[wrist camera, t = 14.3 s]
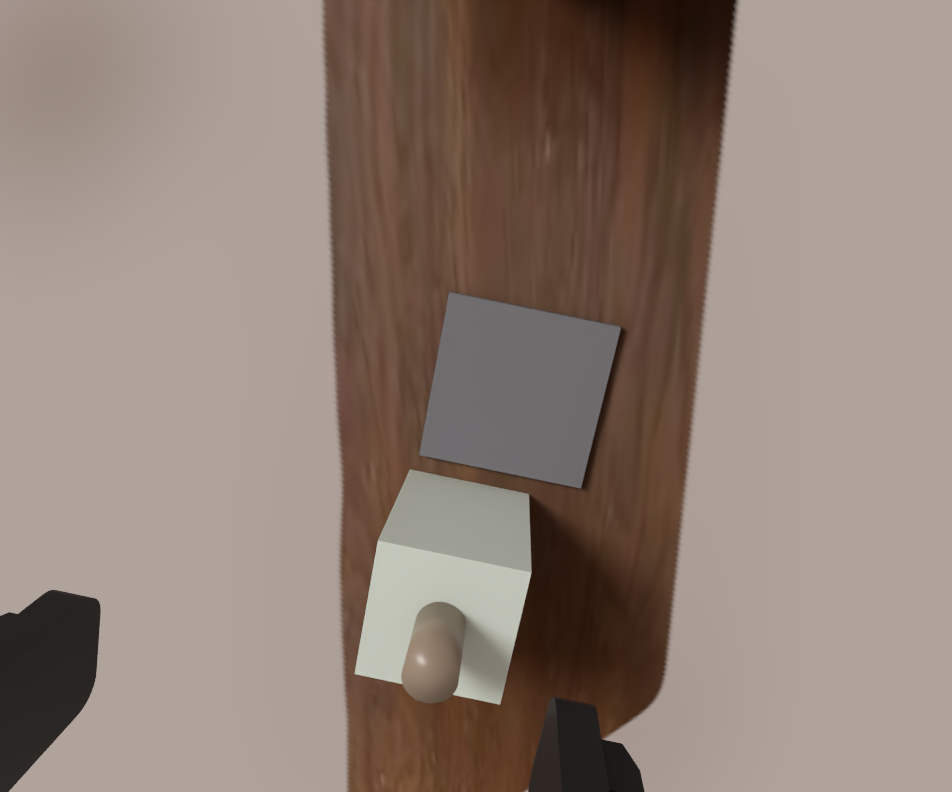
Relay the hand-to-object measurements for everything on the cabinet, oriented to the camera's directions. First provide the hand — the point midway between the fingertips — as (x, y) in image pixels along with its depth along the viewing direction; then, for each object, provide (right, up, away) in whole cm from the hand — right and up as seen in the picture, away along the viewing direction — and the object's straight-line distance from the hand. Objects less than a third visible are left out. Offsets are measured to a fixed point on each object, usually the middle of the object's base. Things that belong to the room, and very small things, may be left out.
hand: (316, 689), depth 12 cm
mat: (+6, +5, +38) cm, 38 cm away
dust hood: (+1, -6, +41) cm, 41 cm away
